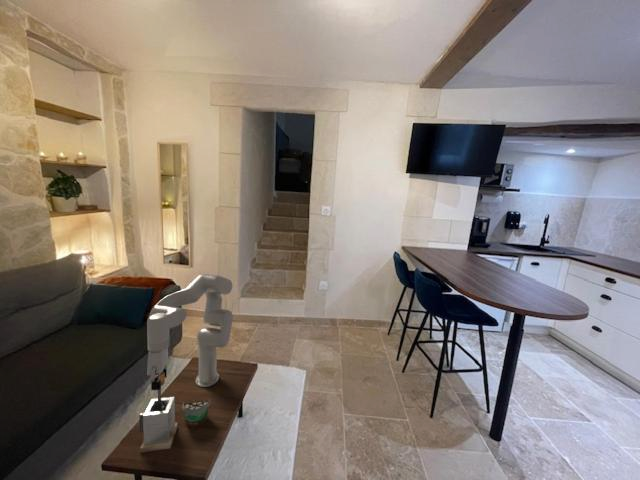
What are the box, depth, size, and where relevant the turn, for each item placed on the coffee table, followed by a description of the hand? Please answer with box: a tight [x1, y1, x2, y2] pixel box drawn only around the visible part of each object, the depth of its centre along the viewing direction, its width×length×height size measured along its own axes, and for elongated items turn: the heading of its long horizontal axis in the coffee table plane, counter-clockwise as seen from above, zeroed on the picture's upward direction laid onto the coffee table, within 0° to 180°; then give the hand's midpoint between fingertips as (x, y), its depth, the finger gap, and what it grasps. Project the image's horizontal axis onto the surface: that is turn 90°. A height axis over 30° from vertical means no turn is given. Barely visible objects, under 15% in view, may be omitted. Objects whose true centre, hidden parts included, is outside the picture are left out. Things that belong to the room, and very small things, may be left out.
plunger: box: [155, 372, 166, 412], centre depth 110 cm, size 5×5×20 cm
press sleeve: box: [139, 396, 176, 446], centre depth 111 cm, size 9×12×14 cm
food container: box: [181, 398, 211, 429], centre depth 121 cm, size 12×6×10 cm, turn 105°
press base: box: [139, 421, 179, 454], centre depth 113 cm, size 11×11×2 cm
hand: (159, 383), depth 109 cm, fingers open, 6 cm apart
